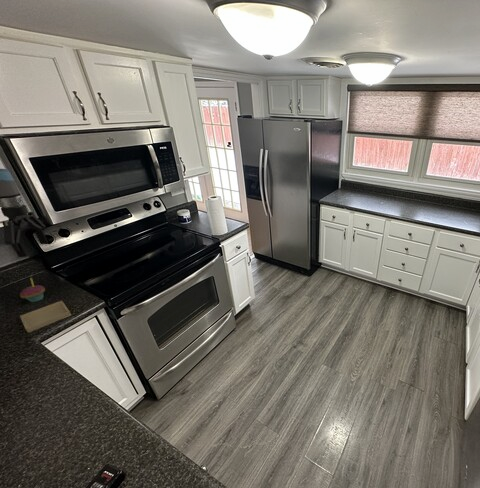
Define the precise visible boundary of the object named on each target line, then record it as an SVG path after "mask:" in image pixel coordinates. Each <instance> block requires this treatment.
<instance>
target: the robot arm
mask: <svg viewBox="0 0 480 488" xmlns="http://www.w3.org/2000/svg"><path fill="white" fill-rule="evenodd" d="M17 185H18V184H17V183H16V180H15V178H14V177H13V175H12V173H11V172H10V170H9V169H6V168H0V211H1V213H2V215H3V217H6V218H7V219H8V220H6V221H4V220H3V221H2V222H1V223H2V226H3V233H4V234H3V235H4V244H5V245H6V246H9V245H10V246H11V247H12V249H13V250H14V251H15V253H16V254H17V257H18V258H26V257H28V254H27V252H26V250H25V247H24V245H23V244H22V243H21V242H20V237H21V232H22V231H21V230H22V229H23V228H24V227H25V226H28V227H29V228H31V229H33V230H35V231H34V233H35V235H36V237H37V239H38V241H39V244H40V245H48V244H49V241H48V239H47V236H46V233H45V231H46V227H47V226H46V224H45V223H43V222H42V221H41V220H40V219H39V218H38V217H37V216H36V214H35V213H34V212H33V211H29V209H28V207H27V205H26V204H25V201H24V198H23V197H22V194H21V192H20V190H19V187H18V186H17Z"/></svg>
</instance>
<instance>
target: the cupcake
mask: <svg viewBox="0 0 480 488" xmlns="http://www.w3.org/2000/svg"><path fill="white" fill-rule="evenodd" d="M29 280H30V283H31V285H30V286H27V287H25V288H24V289H22V290H21V291H20V292H19V297H20V299H25V300H27V301H28V302H29V303H35V302H39V301H41V300H42V299H43V298H44V293H45V291H46V288H45V286H44V285H41V284H40V285H39V284H35V283H34V281H33V277H30V278H29Z"/></svg>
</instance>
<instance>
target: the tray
mask: <svg viewBox="0 0 480 488" xmlns="http://www.w3.org/2000/svg"><path fill="white" fill-rule="evenodd" d="M71 316H72V313H71V311H70V310H69V308H68V307H67V306H66V304H65V303H64V301H63V300H60V301H57V302H54V303H51V304H49V305H48V304H47V305H46V306H43V307H40V308H38V309H35V310H32V311H29V312H27V313H23V314H21V315H19V317H20V320H21V322H22V324H23V326H24V329H25V331H26V332H27V333H28V334H29V333H32V332H34V331H36V330H38V329H41V328H44V327H46V326H49V325H51V324H54V323H56V322H58V321H61V320H63V319H66V318H68V317H71Z"/></svg>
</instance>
